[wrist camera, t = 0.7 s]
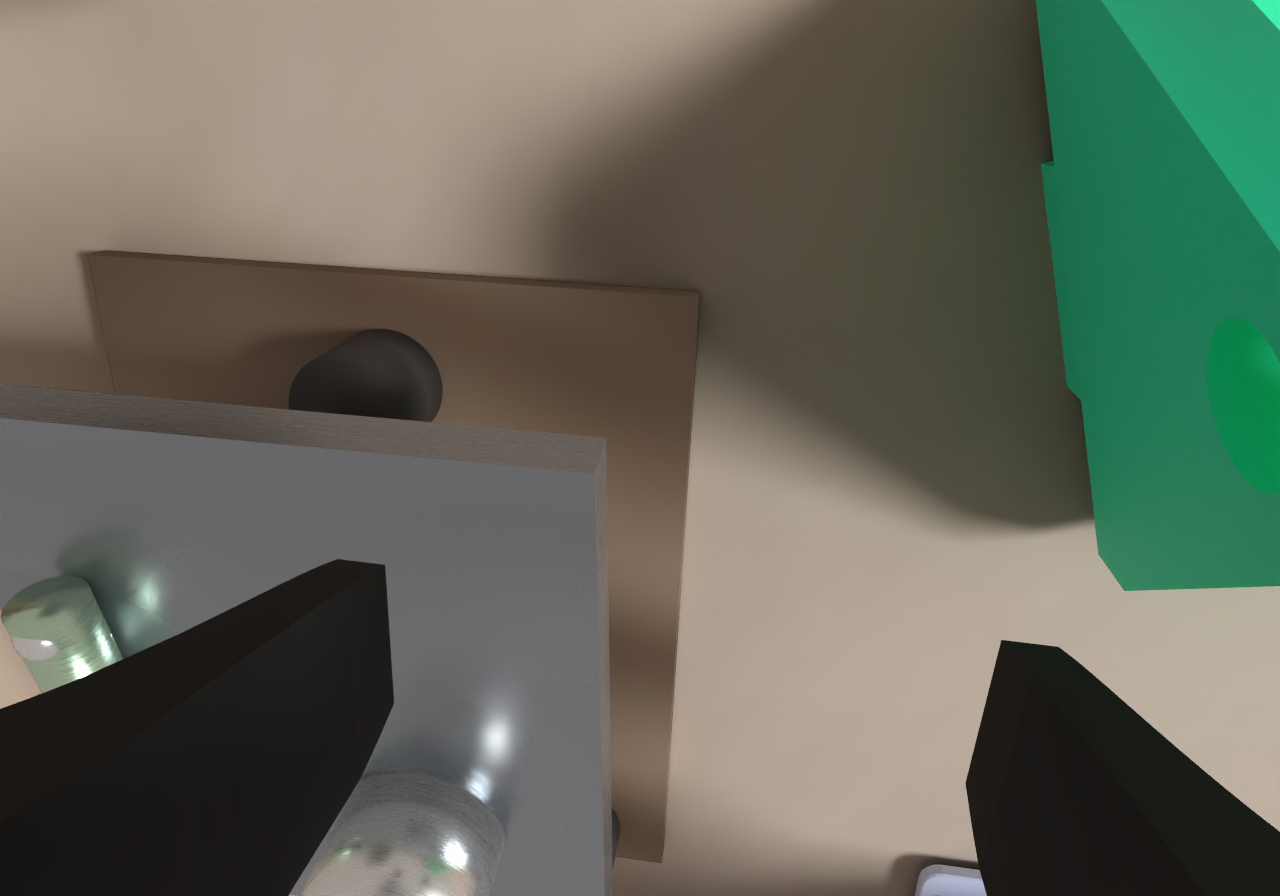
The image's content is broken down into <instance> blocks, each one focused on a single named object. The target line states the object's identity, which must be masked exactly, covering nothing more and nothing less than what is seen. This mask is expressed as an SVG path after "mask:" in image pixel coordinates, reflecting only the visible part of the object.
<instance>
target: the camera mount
mask: <svg viewBox="0 0 1280 896" xmlns="http://www.w3.org/2000/svg"><path fill="white" fill-rule="evenodd" d="M1035 1H1036V9H1037V18H1038V27H1039V36H1040V45H1041V53H1042V62H1043V71H1044V80H1045V89H1046V97H1047V106H1048V115H1049V124H1050V133H1051V141H1052V150H1053V159H1054V160H1053V161H1049V162H1045V163H1041V171H1042V180H1043V188H1044V197H1045V205H1046V213H1047V222H1048V230H1049V239H1050V247H1051V255H1052V264H1053V272H1054V281H1055V289H1056V298H1057V306H1058V314H1059V323H1060V331H1061V340H1062V348H1063V356H1064V365H1065V373H1066V382H1067V387H1068V388H1069V389H1070V390H1071V391H1072V392H1073V393H1074V394H1075V395H1076V396H1077V397H1078V398H1079V399H1080V400H1081V405H1082V414H1083V423H1084V431H1085V440H1086V449H1087V458H1088V467H1089V475H1090V484H1091V493H1092V502H1093V511H1094V519H1095V528H1096V537H1097V546H1098V554H1099V556H1100V557H1101V558H1102V560H1103V561H1104V563H1105V564H1106V566H1107V567H1108V568H1109V570H1110V571H1111V573H1112V574H1113V575H1114V577H1115V578H1116V580H1117V581H1118V582H1119V584H1120V585H1121V587H1122V588H1123V590H1124V591H1136V590H1168V589H1199V588H1231V587H1262V586H1280V0H1035Z"/></svg>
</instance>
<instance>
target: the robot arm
mask: <svg viewBox="0 0 1280 896" xmlns="http://www.w3.org/2000/svg"><path fill="white" fill-rule="evenodd" d="M393 705H394V692H393V677H392V661H391V646H390V631H389V616H388V600H387V585H386V570H385V565H383V564H375V563H367V562H359V561H350V560H342V559H336V560H333V561H331V562H328V563H326V564H323V565H321V566H318V567H316V568H314V569H311V570H309V571H307V572H305V573H303V574H301V575H298V576H296V577H294V578H292V579H290V580H288V581H286V582H284V583H282V584H280V585H278V586H276V587H274V588H272V589H270V590H268V591H266V592H264V593H262V594H260V595H257V596H255V597H253V598H251V599H249V600H247V601H245V602H243V603H241V604H239V605H237V606H235V607H233V608H231V609H229V610H227V611H225V612H223V613H221V614H219V615H217V616H215V617H213V618H211V619H209V620H207V621H205V622H203V623H201V624H198V625H196V626H194V627H192V628H190V629H188V630H186V631H184V632H182V633H180V634H178V635H176V636H173V637H171V638H169V639H167V640H164V641H162V642H160V643H158V644H156V645H153V646H151V647H149V648H147V649H144V650H142V651H140V652H138V653H136V654H133V655H131V656H129V657H127V658H124V659H122V660H120V661H118V662H116V663H113V664H111V665H109V666H107V667H104V668H102V669H100V670H98V671H96V672H93V673H91V674H89V675H86V676H84V677H82V678H79V679H77V680H74V681H72V682H70V683H67V684H65V685H62V686H60V687H57V688H55V689H52V690H50V691H47V692H45V693H42V694H39V695H37V696H34V697H32V698H29V699H26V700H24V701H21V702H18V703H16V704H13V705H10V706H7V707H5V708H2V709H0V896H288V895H289V894H290V892H291V891H292V889H293V887H294V886H295V884H296V883H297V881H298V879H299V878H300V876H301V875H302V873H303V871H304V870H305V868H306V866H307V865H308V863H309V862H310V860H311V858H312V857H313V855H314V854H315V852H316V850H317V849H318V847H319V846H320V844H321V842H322V841H323V839H324V838H325V836H326V834H327V833H328V831H329V829H330V828H331V826H332V825H333V823H334V821H335V820H336V818H337V816H338V815H339V813H340V811H341V810H342V808H343V807H344V805H345V803H346V802H347V800H348V798H349V797H350V795H351V793H352V792H353V790H354V788H355V787H356V785H357V783H358V782H359V780H360V778H361V776H362V774H363V772H364V770H365V768H366V766H367V764H368V761H369V759H370V757H371V755H372V753H373V751H374V749H375V746H376V744H377V742H378V740H379V737H380V735H381V733H382V730H383V728H384V726H385V723H386V721H387V719H388V716H389V714H390V712H391V710H392V707H393ZM966 789H967V796H968V803H969V809H970V816H971V823H972V829H973V835H974V841H975V847H976V853H977V858H978V864H979V870H976V869H969V868H961V867H954V866H947V865H931V866H927V867H926V868H924V869H923V870H922V871H921V873H920V875H919V878H918V882H917V887H916V891H915V896H936V895H939V896H1280V832H1279V831H1278V830H1277V829H1275V828H1274V827H1273V826H1272V825H1270V824H1269V823H1268V822H1266V821H1265V820H1264V819H1263V818H1261V817H1260V816H1259V815H1257V814H1256V813H1255V812H1254V811H1252V810H1251V809H1250V808H1249V807H1247V806H1246V805H1245V804H1244V803H1242V802H1241V801H1240V800H1239V799H1237V798H1236V797H1235V796H1234V795H1233V794H1231V793H1230V792H1229V791H1228V790H1226V789H1225V788H1224V787H1223V786H1222V785H1220V784H1219V783H1218V782H1217V781H1215V780H1214V779H1213V778H1212V777H1211V776H1210V775H1208V774H1207V773H1206V772H1205V771H1204V770H1202V769H1201V768H1200V767H1199V766H1198V765H1196V764H1195V763H1194V762H1193V761H1192V760H1191V759H1189V758H1188V757H1187V756H1186V755H1185V754H1183V753H1182V752H1181V751H1180V750H1179V749H1178V748H1176V747H1175V746H1174V745H1173V744H1172V743H1171V742H1169V741H1168V740H1167V739H1166V738H1165V737H1164V736H1163V735H1161V734H1160V733H1159V732H1158V731H1157V730H1156V729H1154V728H1153V727H1152V726H1151V725H1150V724H1149V723H1148V722H1146V721H1145V720H1144V719H1143V718H1142V717H1141V716H1140V715H1138V714H1137V713H1136V712H1135V711H1134V710H1133V709H1132V708H1131V707H1129V706H1128V705H1127V704H1126V703H1125V702H1124V701H1123V700H1121V699H1120V698H1119V697H1118V696H1117V695H1116V694H1115V693H1113V692H1112V691H1111V690H1110V689H1109V688H1108V687H1107V686H1105V685H1104V684H1103V683H1102V682H1101V681H1100V680H1098V679H1097V678H1096V677H1095V676H1094V675H1093V674H1092V673H1090V672H1089V671H1088V670H1087V669H1086V668H1084V667H1083V666H1082V665H1081V664H1080V663H1078V662H1077V661H1076V660H1075V659H1074V658H1072V657H1071V656H1070V655H1068V654H1067V653H1066V652H1064V651H1063V650H1062V649H1061V648H1059V647H1054V646H1046V645H1038V644H1030V643H1022V642H1013V641H1005V640H1001V644H1000V648H999V652H998V656H997V660H996V664H995V668H994V672H993V676H992V680H991V684H990V688H989V692H988V696H987V700H986V704H985V708H984V712H983V716H982V720H981V724H980V728H979V732H978V736H977V740H976V744H975V748H974V752H973V756H972V760H971V764H970V768H969V772H968V776H967V780H966Z"/></svg>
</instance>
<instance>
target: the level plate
mask: <svg viewBox="0 0 1280 896" xmlns="http://www.w3.org/2000/svg"><path fill="white" fill-rule="evenodd" d="M336 559H342V560H350V561H359V562H367V563H375V564H383V565H385V570H386V585H387V600H388V616H389V631H390V646H391V661H392V677H393V692H394V705H393V707H392V710H391V712H390V714H389V716H388V719H387V721H386V723H385V726H384V728H383V730H382V733H381V735H380V737H379V740H378V742H377V744H376V746H375V749H374V751H373V753H372V755H371V757H370V759H369V761H368V764H367V766H366V768H365V770H364V772H363V774H362V776H361V778H360V780H359V782H358V783H357V785H356V787H355V788H354V790H353V792H352V793H351V795H350V797H349V798H348V800H347V802H346V803H345V805H344V807H343V808H342V810H341V811H340V813H339V815H338V816H337V818H336V820H335V821H334V823H333V825H332V826H331V828H330V829H329V831H328V833H327V834H326V836H325V838H324V839H323V841H322V842H321V844H320V846H319V847H318V849H317V850H316V852H315V854H314V855H313V857H312V858H311V860H310V862H309V863H308V865H307V866H306V868H305V870H304V871H303V873H302V875H301V876H300V878H299V879H298V881H297V883H296V884H295V886H294V887H293V889H292V891H291V892H290V894H295V895H301V896H613V874H612V805H611V735H610V666H609V597H608V527H607V458H606V438H603V437H591V436H580V435H569V434H558V433H546V432H535V431H524V430H513V429H501V428H490V427H479V426H468V425H456V424H445V423H434V422H423V421H412V420H400V419H389V418H378V417H367V416H355V415H344V414H333V413H322V412H310V411H299V410H288V409H277V408H265V407H254V406H243V405H232V404H220V403H209V402H198V401H187V400H175V399H164V398H153V397H142V396H130V395H119V394H108V393H97V392H85V391H74V390H63V389H52V388H40V387H29V386H18V385H7V384H0V609H1V611H2V613H1V620H2V622H3V624H4V626H5V628H6V629H7V631H8V633H9V635H10V636H11V641H12V645H13V648H14V649H15V651H16V652H17V653H18V654H19V655H20V656H21V657H22V658H23V660H24V661H25V663H26V665H27V667H28V669H29V670H30V672H31V674H32V676H33V677H34V679H35V681H36V683H37V685H38V686H39V688H40V690H41V692H42V693H45V692H47V691H50V690H52V689H55V688H57V687H60V686H62V685H65V684H67V683H70V682H72V681H74V680H77V679H79V678H82V677H84V676H86V675H89V674H91V673H93V672H96V671H98V670H100V669H102V668H104V667H107V666H109V665H111V664H113V663H116V662H118V661H120V660H122V659H124V658H127V657H129V656H131V655H133V654H136V653H138V652H140V651H142V650H144V649H147V648H149V647H151V646H153V645H156V644H158V643H160V642H162V641H164V640H167V639H169V638H171V637H173V636H176V635H178V634H180V633H182V632H184V631H186V630H188V629H190V628H192V627H194V626H196V625H198V624H201V623H203V622H205V621H207V620H209V619H211V618H213V617H215V616H217V615H219V614H221V613H223V612H225V611H227V610H229V609H231V608H233V607H235V606H237V605H239V604H241V603H243V602H245V601H247V600H249V599H251V598H253V597H255V596H257V595H260V594H262V593H264V592H266V591H268V590H270V589H272V588H274V587H276V586H278V585H280V584H282V583H284V582H286V581H288V580H290V579H292V578H294V577H296V576H298V575H301V574H303V573H305V572H307V571H309V570H311V569H314V568H316V567H318V566H321V565H323V564H326V563H328V562H331V561H333V560H336Z"/></svg>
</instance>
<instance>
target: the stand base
mask: <svg viewBox="0 0 1280 896" xmlns="http://www.w3.org/2000/svg"><path fill="white" fill-rule="evenodd" d="M88 260H89V265H90V271H91V276H92V281H93V286H94V291H95V296H96V301H97V306H98V311H99V316H100V321H101V326H102V331H103V336H104V341H105V346H106V351H107V356H108V361H109V366H110V371H111V376H112V381H113V386H114V391H115V394H119V395H130V396H142V397H153V398H164V399H175V400H187V401H198V402H209V403H220V404H232V405H243V406H254V407H265V408H277V409H288V410H299V411H310V412H322V413H333V414H344V415H355V416H367V417H378V418H389V419H400V420H412V421H423V422H434V423H445V424H456V425H468V426H479V427H490V428H501V429H513V430H524V431H535V432H546V433H558V434H569V435H580V436H591V437H603V438H606V458H607V527H608V597H609V666H610V735H611V805H612V869H613V864H614V860H615V856H616V857H623V858H630V859H637V860H644V861H651V862H658V863H662V856H663V849H664V836H665V821H666V806H667V791H668V776H669V761H670V746H671V731H672V716H673V701H674V686H675V671H676V656H677V641H678V625H679V610H680V595H681V580H682V565H683V550H684V535H685V520H686V505H687V490H688V475H689V460H690V445H691V430H692V414H693V399H694V384H695V369H696V354H697V339H698V324H699V309H700V294H701V292H700V291H686V290H671V289H657V288H642V287H628V286H613V285H599V284H584V283H570V282H555V281H541V280H526V279H512V278H497V277H483V276H468V275H453V274H439V273H424V272H410V271H395V270H381V269H366V268H352V267H337V266H323V265H308V264H294V263H279V262H265V261H250V260H235V259H221V258H206V257H192V256H177V255H163V254H148V253H134V252H119V251H102V252H98V253H93V254H89V255H88Z"/></svg>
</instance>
